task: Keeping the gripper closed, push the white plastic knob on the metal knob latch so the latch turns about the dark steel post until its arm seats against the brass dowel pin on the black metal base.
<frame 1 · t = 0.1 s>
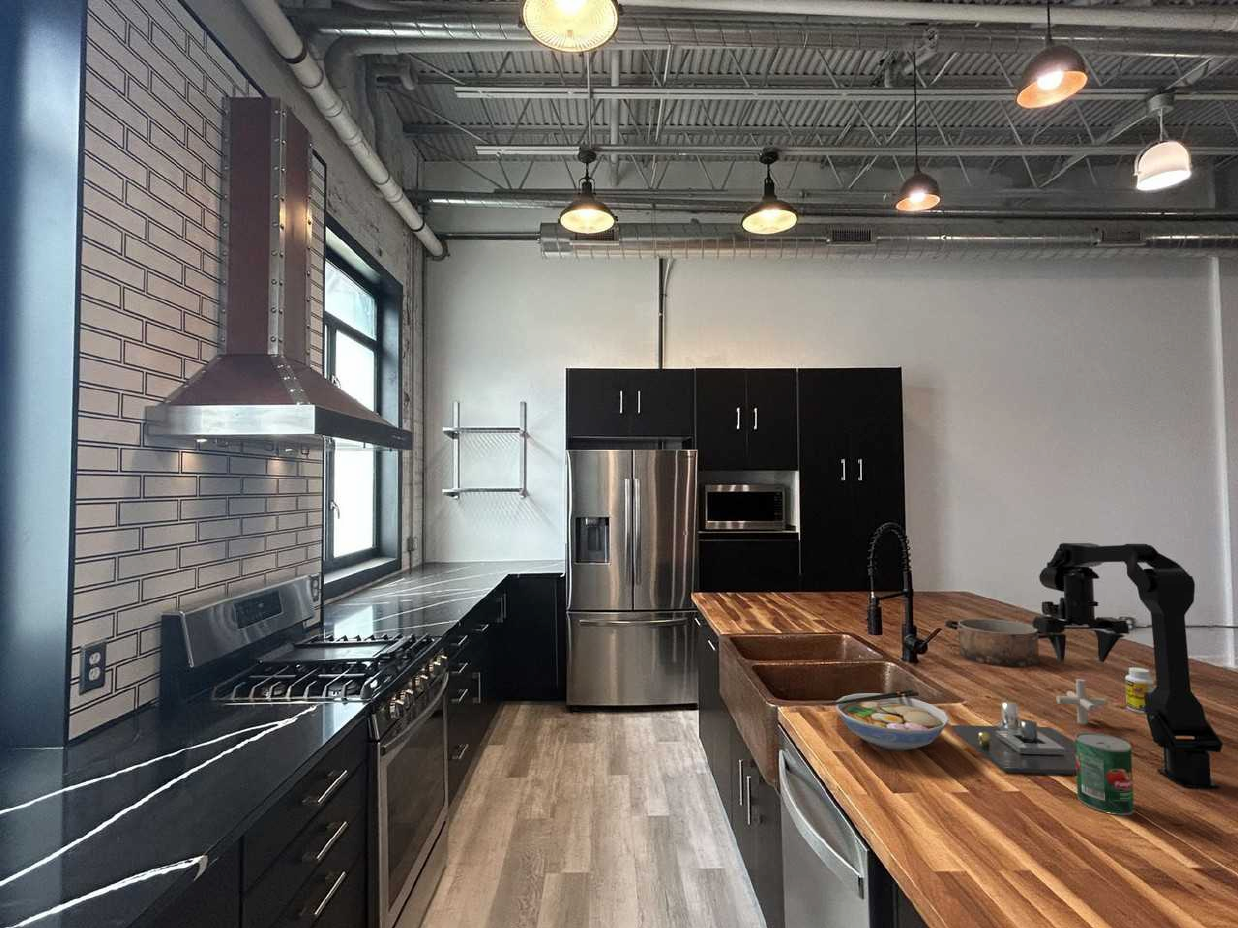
hand: (1081, 661, 145), 15 cm above the countertop, tool pointing down, fingers open, 9 cm apart
cooking pot: (997, 659, 201), on the countertop
canned tomato: (1105, 805, 107), on the countertop
supplement bottle: (1140, 711, 152), on the countertop
ramen bowl: (891, 745, 133), on the countertop
pipe connector: (1082, 723, 145), on the countertop
metal knob latch: (1021, 725, 132), point 4 cm above the countertop, hinge at 0.0°
post base: (1029, 750, 129), on the countertop
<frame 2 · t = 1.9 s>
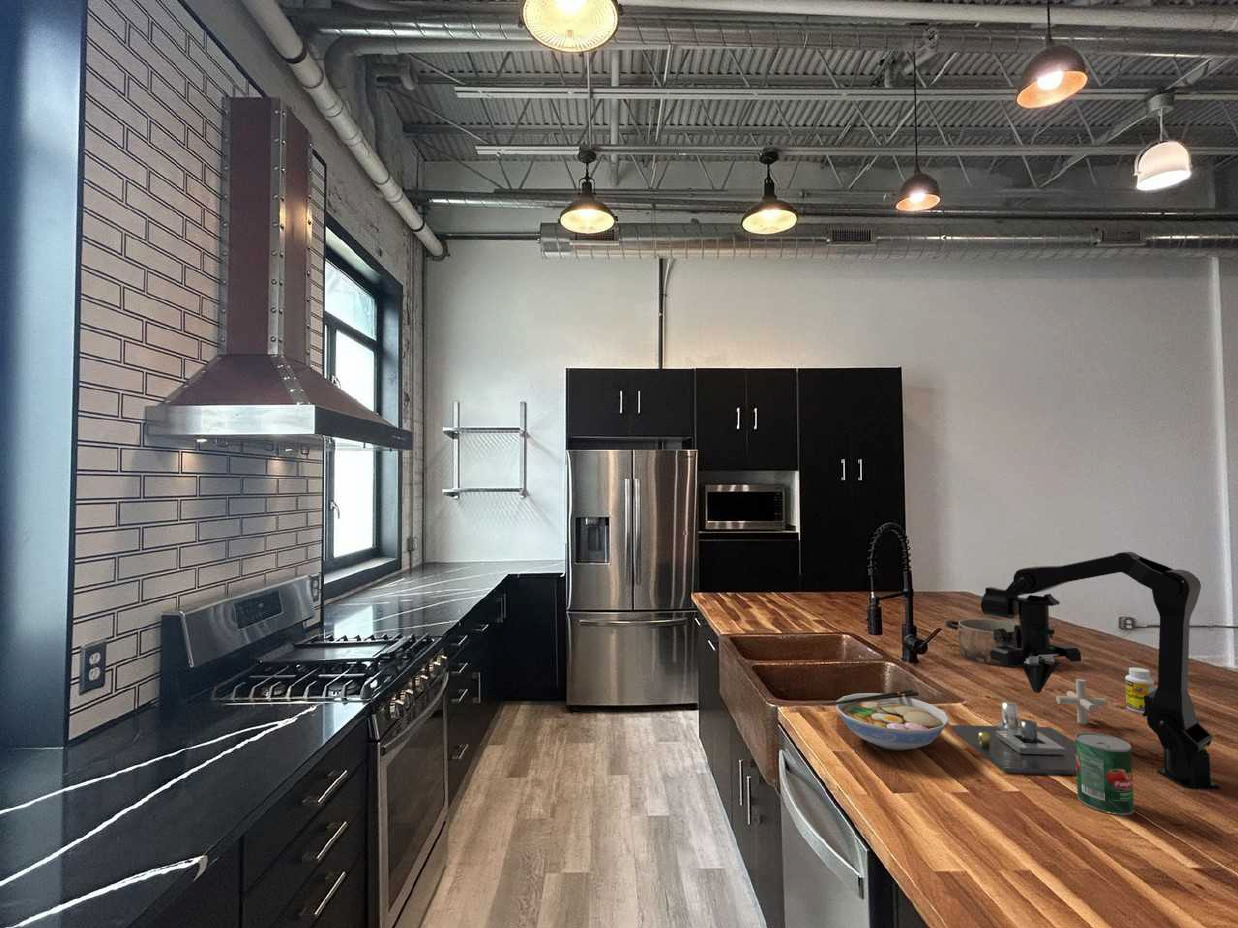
hand: (1036, 692, 138), 10 cm above the countertop, tool pointing down, fingers closed
nothing on the countertop moved.
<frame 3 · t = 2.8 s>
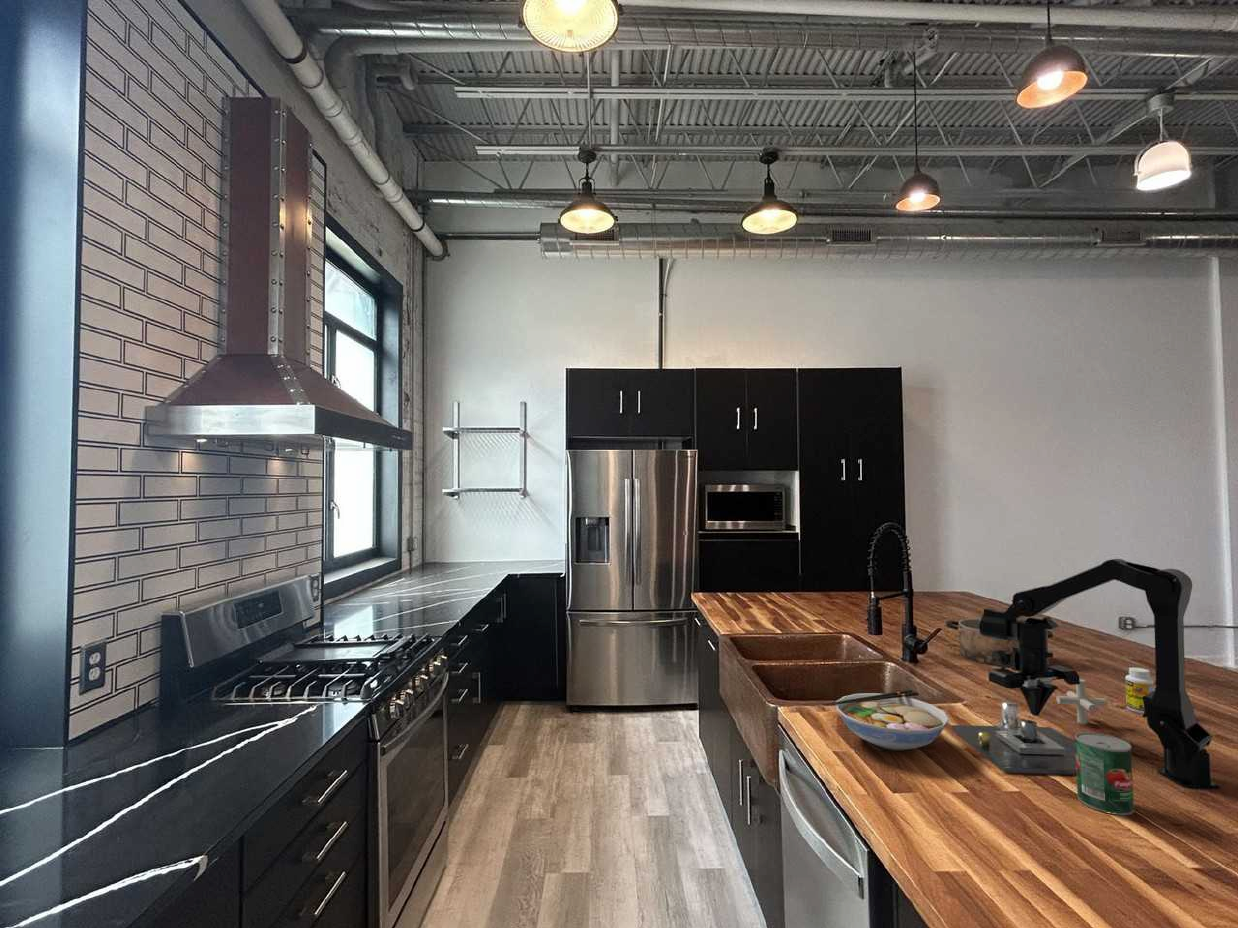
hand: (1035, 715, 138), 5 cm above the countertop, tool pointing down, fingers closed
nothing on the countertop moved.
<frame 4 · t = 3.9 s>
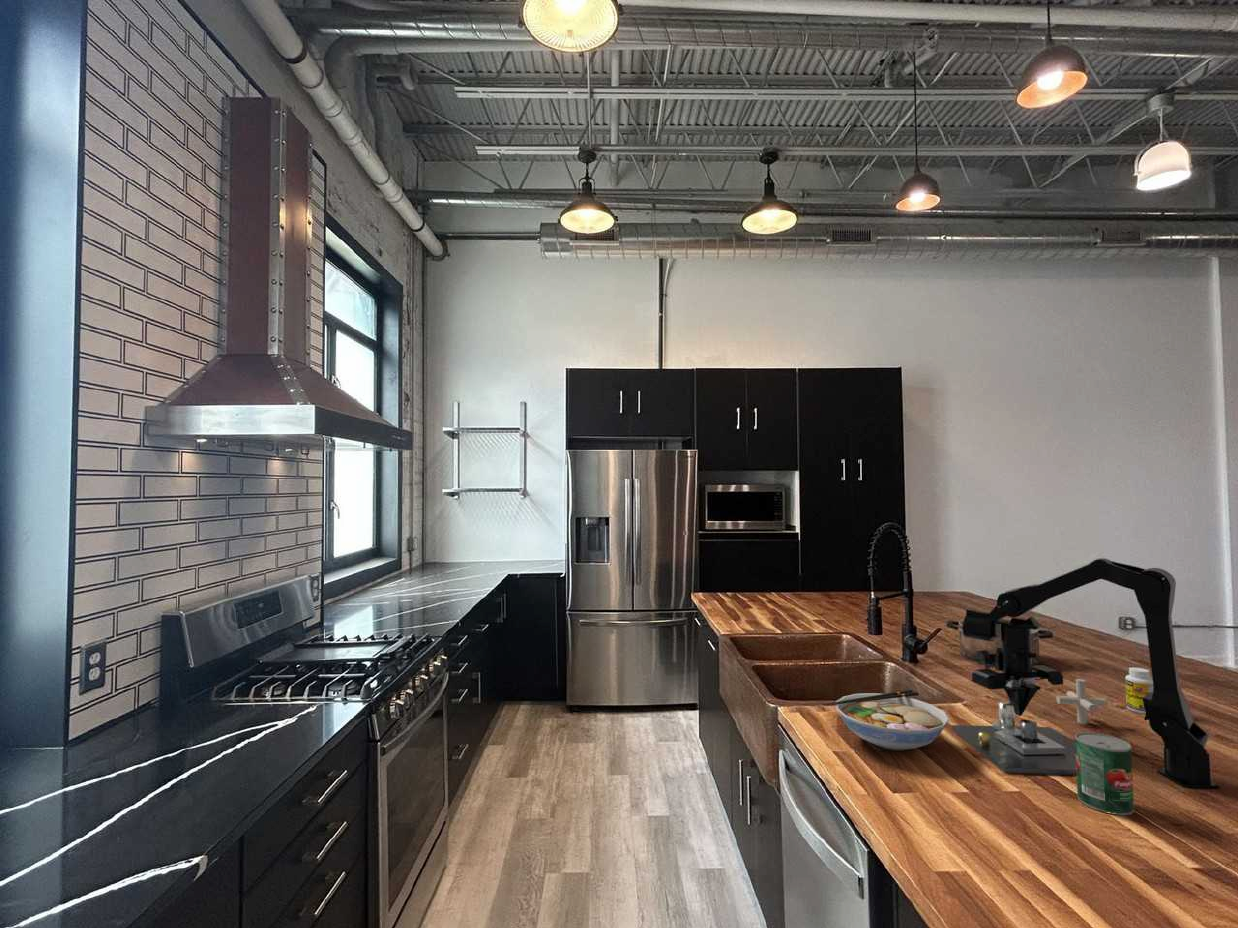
hand: (1018, 715, 137), 5 cm above the countertop, tool pointing down, fingers closed
metal knob latch: (1020, 725, 132), point 4 cm above the countertop, hinge at 5.8°, touching gripper
everything else where it was.
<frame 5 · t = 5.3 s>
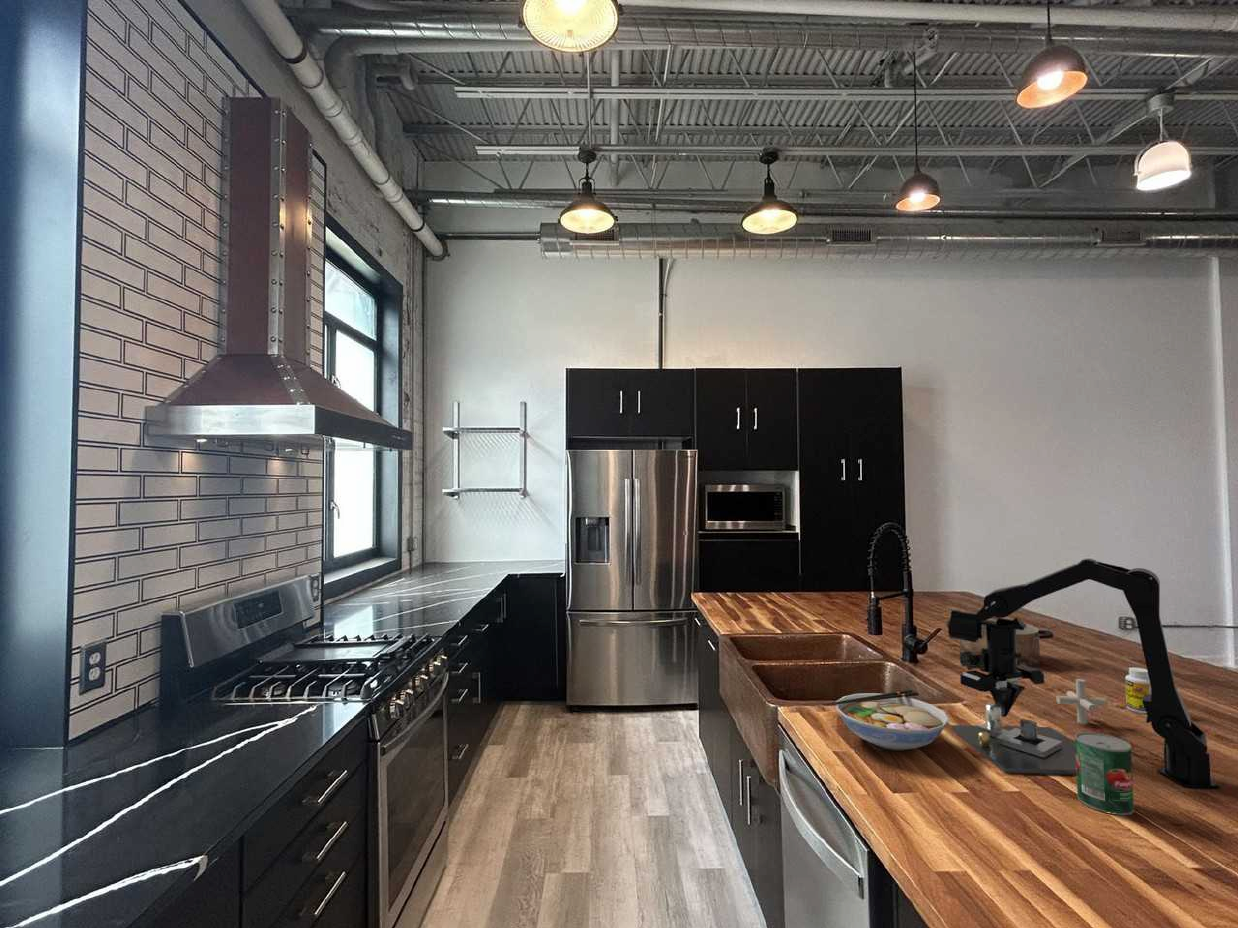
hand: (1002, 716, 137), 5 cm above the countertop, tool pointing down, fingers closed
metal knob latch: (1015, 726, 132), point 4 cm above the countertop, hinge at 37.6°, touching gripper
everything else where it was.
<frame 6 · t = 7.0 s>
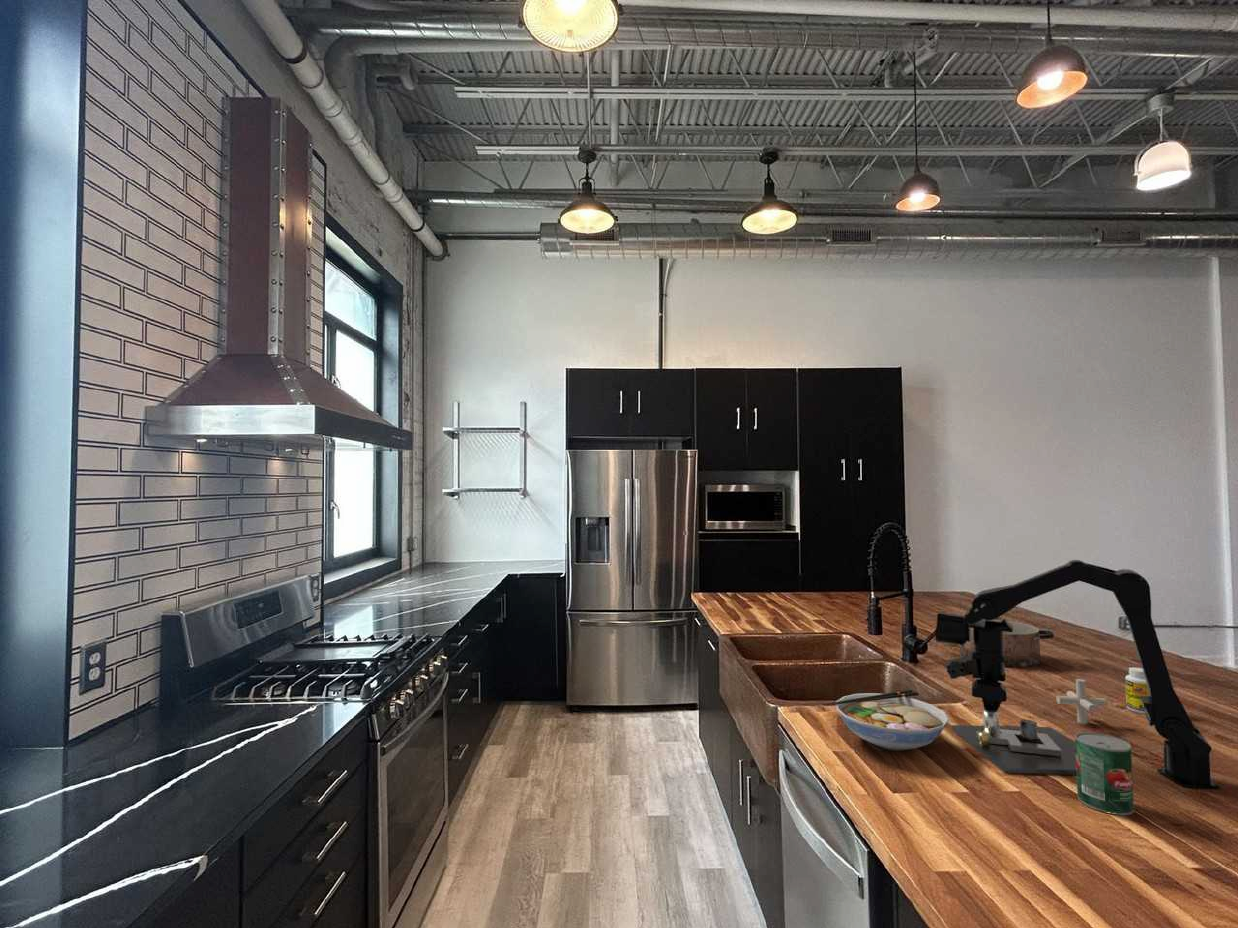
hand: (989, 719, 135), 5 cm above the countertop, tool pointing down, fingers closed
metal knob latch: (1014, 728, 130), point 4 cm above the countertop, hinge at 75.1°, touching gripper, post base
everything else where it was.
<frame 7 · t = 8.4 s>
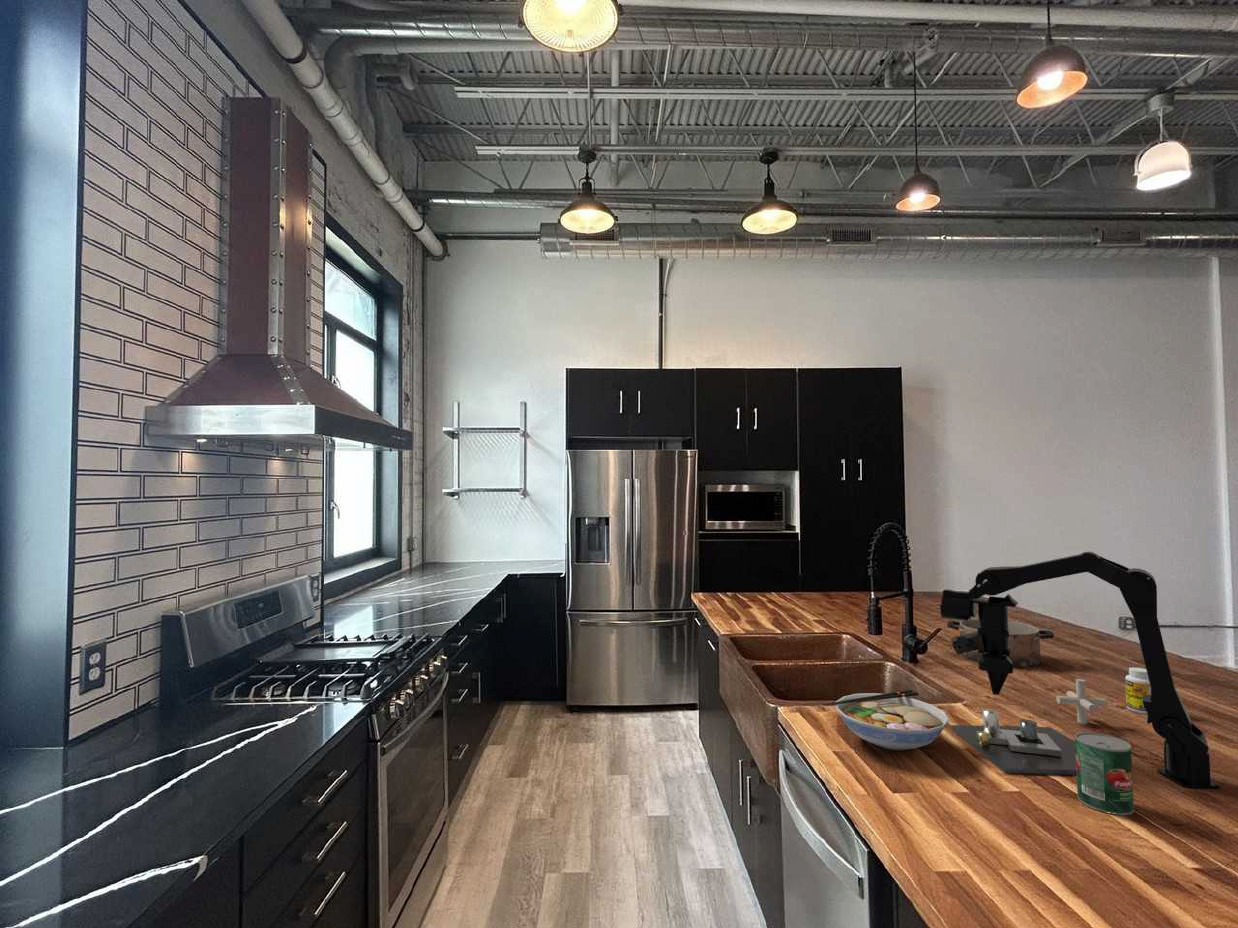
hand: (995, 694, 137), 10 cm above the countertop, tool pointing down, fingers closed
metal knob latch: (1014, 728, 130), point 4 cm above the countertop, hinge at 75.0°, touching post base
everything else where it was.
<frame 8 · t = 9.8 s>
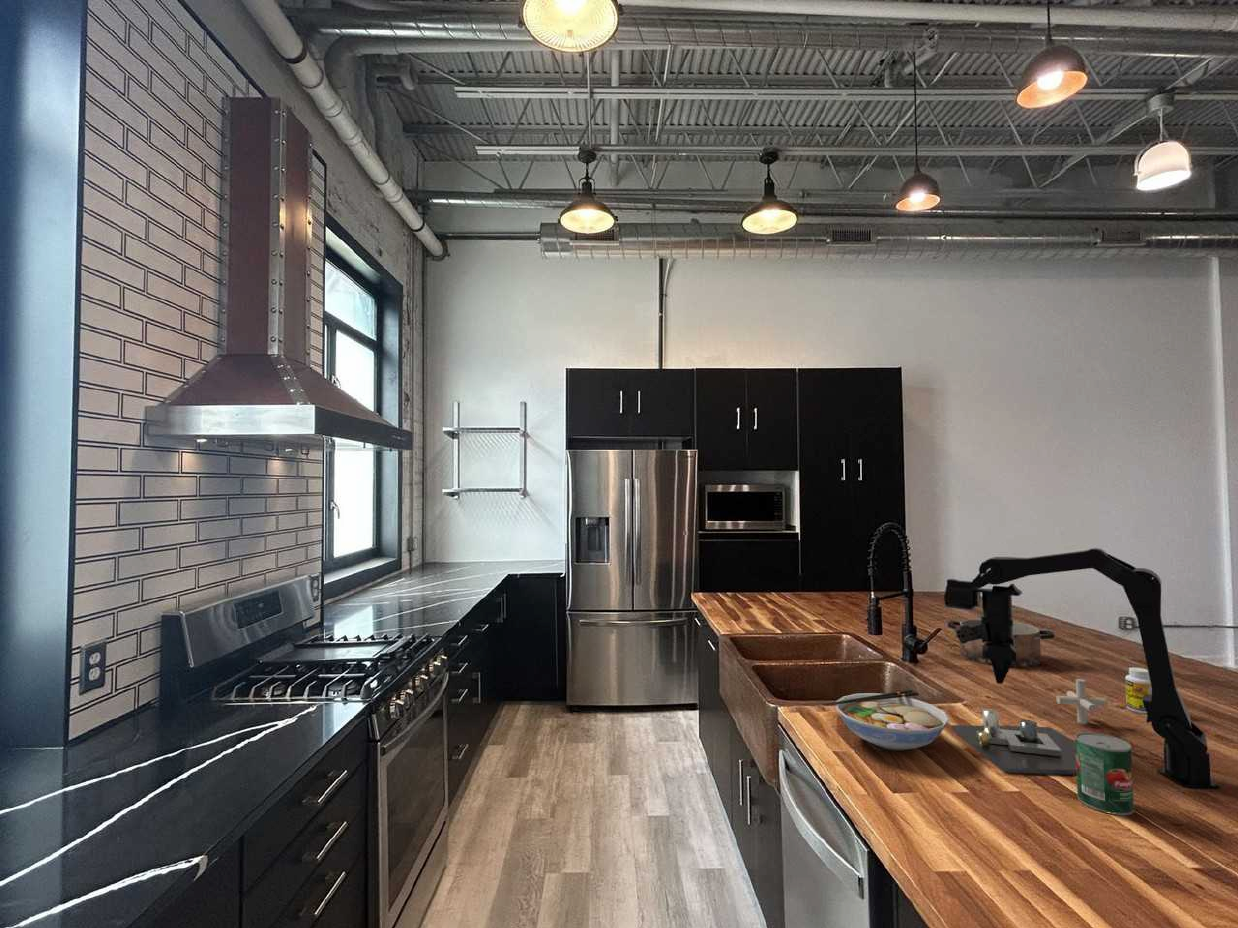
hand: (999, 683, 137), 12 cm above the countertop, tool pointing down, fingers closed
nothing on the countertop moved.
at the end: metal knob latch at +75° (first picture: +0°) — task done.
